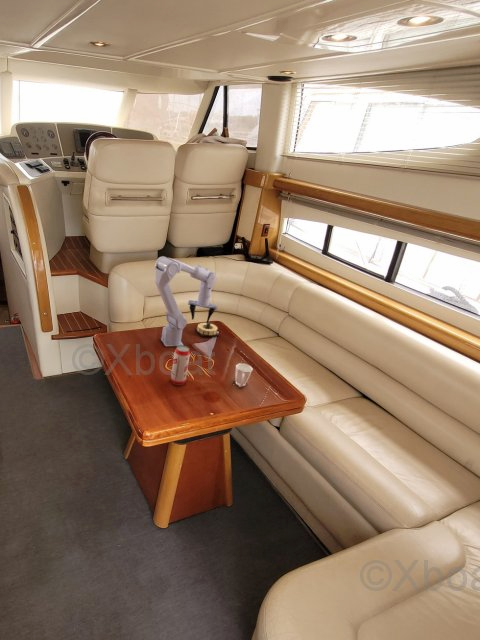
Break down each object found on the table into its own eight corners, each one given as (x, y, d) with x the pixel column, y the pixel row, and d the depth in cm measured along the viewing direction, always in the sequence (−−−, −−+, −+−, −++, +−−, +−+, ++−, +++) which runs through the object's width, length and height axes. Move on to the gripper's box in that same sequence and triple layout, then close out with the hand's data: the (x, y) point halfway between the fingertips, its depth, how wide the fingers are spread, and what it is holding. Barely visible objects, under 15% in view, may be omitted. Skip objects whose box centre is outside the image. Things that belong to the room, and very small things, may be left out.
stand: (202, 337, 201) (204, 327, 198) (195, 329, 209) (197, 320, 206) (218, 336, 204) (219, 326, 201) (211, 329, 211) (212, 319, 208)
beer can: (185, 379, 164) (190, 345, 156) (185, 387, 158) (190, 353, 150) (170, 377, 164) (175, 343, 156) (170, 385, 159) (174, 351, 151)
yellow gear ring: (201, 335, 200) (202, 331, 199) (194, 327, 208) (195, 323, 207) (219, 334, 203) (220, 330, 201) (212, 326, 211) (212, 322, 210)
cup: (248, 381, 167) (253, 365, 163) (248, 393, 158) (252, 376, 154) (232, 377, 168) (236, 361, 164) (231, 389, 159) (235, 373, 155)
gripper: (220, 295, 190) (215, 320, 197) (191, 289, 193) (188, 314, 200) (218, 299, 184) (213, 325, 191) (188, 294, 188) (184, 319, 194)
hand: (200, 320), depth 195 cm, fingers open, 7 cm apart
